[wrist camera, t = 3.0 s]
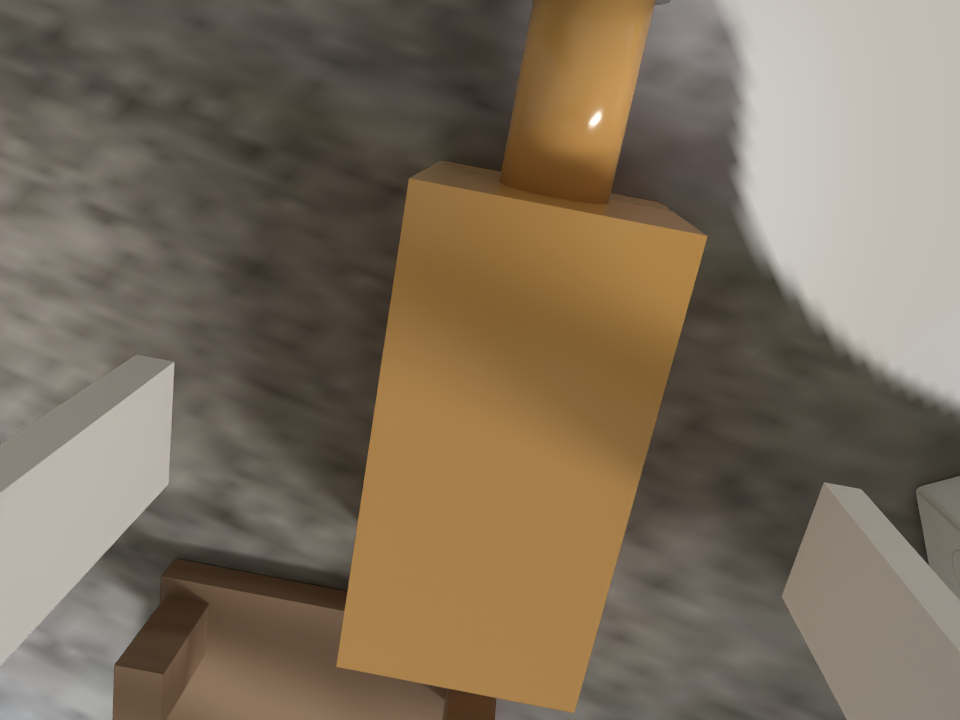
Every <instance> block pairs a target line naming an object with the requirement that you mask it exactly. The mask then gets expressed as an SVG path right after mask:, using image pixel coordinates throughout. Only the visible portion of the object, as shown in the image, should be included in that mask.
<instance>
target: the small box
mask: <svg viewBox="0 0 960 720" xmlns="http://www.w3.org/2000/svg"><path fill="white" fill-rule="evenodd" d="M916 496H917V502H918V507H919V512H920V518H921V524H922V529H923V535H924V540H925V546H926V551H927V557H928V562H929V566H930V568H931V569H932V570H933V571H934V572H935V573H936V574H937V575H938V577H939V578H940V579H941V580H942V581H943V582H944V583H945V585H946V586H947V587H948V588H949V589H950V590H951V591H952V592H953V594H954V595H955V596H956V597H957V598H958V599H959V600H960V476H957V477H954V478H950V479H946V480H942V481H938V482H934V483H931V484H927V485H924V486H920V487H918V488H917V489H916Z"/></svg>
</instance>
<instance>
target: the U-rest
mask: <svg viewBox="0 0 960 720" xmlns="http://www.w3.org/2000/svg"><path fill="white" fill-rule="evenodd" d="M346 598H347V591H342V590H337V589H332V588H327V587H321V586H316V585H311V584H306V583H300V582H295V581H290V580H285V579H280V578H274V577H269V576H264V575H259V574H254V573H248V572H243V571H238V570H233V569H228V568H222V567H217V566H212V565H207V564H202V563H196V562H191V561H186V560H181V559H176V558H175V559H174V561H173V562H172V563H171V564H170V566H169V567H168V568H167V569H166V571H165V572H164V573H163V574H162V576H161V589H160V605H159V606H158V607H157V609H156V610H155V611H154V613H153V614H152V615H151V617H150V618H149V619H148V621H147V622H146V623H145V625H144V626H143V627H142V629H141V630H140V631H139V633H138V634H137V635H136V637H135V638H134V639H133V641H132V642H131V643H130V645H129V646H128V647H127V649H126V650H125V651H124V653H123V654H122V655H121V657H120V658H119V659H118V661H117V662H116V663H115V665H114V691H113V720H495V708H496V698H494V697H489V696H484V695H479V694H474V693H469V692H463V691H458V690H453V689H448V688H443V687H438V686H433V685H428V684H422V683H417V682H412V681H407V680H402V679H397V678H392V677H387V676H381V675H376V674H371V673H366V672H361V671H356V670H351V669H345V668H340V667H336V665H337V659H338V652H339V645H340V638H341V632H342V625H343V618H344V612H345V605H346Z"/></svg>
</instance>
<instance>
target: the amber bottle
mask: <svg viewBox="0 0 960 720" xmlns="http://www.w3.org/2000/svg"><path fill="white" fill-rule="evenodd" d="M669 2H670V0H533V4H532V9H531V15H530V20H529V25H528V31H527V36H526V41H525V47H524V52H523V57H522V63H521V68H520V74H519V79H518V84H517V90H516V95H515V100H514V106H513V111H512V116H511V122H510V127H509V133H508V138H507V143H506V149H505V154H504V159H503V165H502V170H501V172H500V171H494V170H489V169H484V168H479V167H474V166H469V165H463V164H458V163H453V162H448V161H443V160H441V161H440V162H438V163H436V164H434V165H432V166H430V167H429V168H427V169H425V170H423V171H421V172H420V173H418V174H416V175H414V176H412V177H410V178H409V181H408V188H407V195H406V201H405V208H404V215H403V222H402V228H401V235H400V242H399V248H398V255H397V262H396V269H395V275H394V282H393V289H392V295H391V302H390V309H389V316H388V322H387V329H386V336H385V343H384V349H383V356H382V363H381V369H380V376H379V383H378V390H377V396H376V403H375V410H374V417H373V423H372V430H371V437H370V443H369V450H368V457H367V464H366V470H365V477H364V484H363V490H362V497H361V504H360V511H359V517H358V524H357V531H356V538H355V544H354V551H353V558H352V564H351V571H350V578H349V585H348V591H347V598H346V605H345V612H344V618H343V625H342V632H341V638H340V645H339V652H338V659H337V665H336V667H340V668H345V669H351V670H356V671H361V672H366V673H371V674H376V675H381V676H387V677H392V678H397V679H402V680H407V681H412V682H417V683H422V684H428V685H433V686H438V687H443V688H448V689H453V690H458V691H463V692H469V693H474V694H479V695H484V696H489V697H494V698H499V699H505V700H510V701H515V702H520V703H525V704H530V705H535V706H540V707H546V708H551V709H556V710H561V711H566V712H571V713H575V709H576V706H577V702H578V698H579V695H580V691H581V688H582V684H583V680H584V677H585V673H586V670H587V666H588V663H589V659H590V655H591V652H592V648H593V645H594V641H595V638H596V634H597V630H598V627H599V623H600V620H601V616H602V612H603V609H604V605H605V602H606V598H607V595H608V591H609V587H610V584H611V580H612V577H613V573H614V570H615V566H616V562H617V559H618V555H619V552H620V548H621V545H622V541H623V537H624V534H625V530H626V527H627V523H628V519H629V516H630V512H631V509H632V505H633V502H634V498H635V494H636V491H637V487H638V484H639V480H640V477H641V473H642V469H643V466H644V462H645V459H646V455H647V452H648V448H649V444H650V441H651V437H652V434H653V430H654V426H655V423H656V419H657V416H658V412H659V409H660V405H661V401H662V398H663V394H664V391H665V387H666V384H667V380H668V376H669V373H670V369H671V366H672V362H673V358H674V355H675V351H676V348H677V344H678V341H679V337H680V333H681V330H682V326H683V323H684V319H685V316H686V312H687V308H688V305H689V301H690V298H691V294H692V291H693V287H694V283H695V280H696V276H697V273H698V269H699V265H700V262H701V258H702V255H703V251H704V248H705V244H706V240H707V237H708V236H707V235H706V234H704V233H703V232H701V231H700V230H698V229H697V228H696V227H694V226H693V225H691V224H690V223H688V222H687V221H686V220H684V219H683V218H681V217H680V216H678V215H677V214H676V213H674V212H673V211H671V210H670V209H668V208H667V207H666V206H664V205H663V204H661V203H660V202H655V201H650V200H645V199H640V198H634V197H629V196H624V195H619V194H614V193H611V190H612V186H613V181H614V177H615V173H616V168H617V164H618V160H619V156H620V151H621V147H622V143H623V139H624V134H625V130H626V126H627V121H628V117H629V113H630V109H631V104H632V100H633V96H634V92H635V87H636V83H637V79H638V74H639V70H640V66H641V62H642V57H643V53H644V49H645V45H646V40H647V36H648V32H649V27H650V23H651V19H652V15H653V10H654V6H655V5H662V4H666V3H669Z"/></svg>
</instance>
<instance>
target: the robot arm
mask: <svg viewBox="0 0 960 720" xmlns="http://www.w3.org/2000/svg"><path fill="white" fill-rule="evenodd" d="M173 382H174V362H173V361H168V360H162V359H157V358H152V357H146V356H141V355H135V356H133V357H132V358H130V359H129V360H127V361H126V362H124V363H123V364H121V365H120V366H118V367H117V368H115V369H114V370H112V371H111V372H109V373H108V374H106V375H105V376H103V377H101V378H100V379H98V380H97V381H95V382H94V383H92V384H91V385H89V386H88V387H86V388H85V389H83V390H82V391H80V392H79V393H77V394H76V395H74V396H73V397H71V398H70V399H68V400H67V401H65V402H63V403H62V404H60V405H59V406H57V407H56V408H54V409H53V410H51V411H50V412H48V413H47V414H45V415H44V416H42V417H41V418H39V419H38V420H36V421H35V422H33V423H32V424H30V425H29V426H27V427H25V428H24V429H22V430H21V431H19V432H18V433H16V434H15V435H13V436H12V437H10V438H9V439H7V440H6V441H4V442H3V443H1V444H0V666H1V665H2V664H3V663H4V662H5V661H6V660H7V659H8V658H9V657H10V655H11V654H12V653H13V652H14V651H15V650H16V649H17V648H18V647H19V646H20V645H21V644H22V642H23V641H24V640H25V639H26V638H27V637H28V636H29V635H30V634H31V633H32V632H33V630H34V629H35V628H36V627H37V626H38V625H39V624H40V623H41V622H42V621H43V620H44V619H45V617H46V616H47V615H48V614H49V613H50V612H51V611H52V610H53V609H54V608H55V607H56V605H57V604H58V603H59V602H60V601H61V600H62V599H63V598H64V597H65V596H66V595H67V594H68V592H69V591H70V590H71V589H72V588H73V587H74V586H75V585H76V584H77V583H78V582H79V581H80V579H81V578H82V577H83V576H84V575H85V574H86V573H87V572H88V571H89V570H90V569H91V567H92V566H93V565H94V564H95V563H96V562H97V561H98V560H99V559H100V558H101V557H102V556H103V554H104V553H105V552H106V551H107V550H108V549H109V548H110V547H111V546H112V545H113V544H114V543H115V541H116V540H117V539H118V538H119V537H120V536H121V535H122V534H123V533H124V532H125V531H126V529H127V528H128V527H129V526H130V525H131V524H132V523H133V522H134V521H135V520H136V519H137V518H138V516H139V515H140V514H141V513H142V512H143V511H144V510H145V509H146V508H147V507H148V506H149V505H150V503H151V502H152V501H153V500H154V499H155V498H156V497H157V496H158V495H159V494H160V493H161V491H162V490H163V489H164V488H165V487H166V486H167V485H168V484H169V464H170V444H171V423H172V403H173ZM782 598H783V600H784V602H785V604H786V606H787V608H788V610H789V611H790V613H791V615H792V617H793V619H794V621H795V623H796V625H797V627H798V629H799V630H800V632H801V634H802V636H803V638H804V640H805V642H806V644H807V646H808V647H809V649H810V651H811V653H812V655H813V657H814V659H815V661H816V663H817V664H818V666H819V668H820V670H821V672H822V674H823V676H824V678H825V680H826V681H827V683H828V685H829V687H830V689H831V691H832V693H833V695H834V697H835V698H836V700H837V702H838V704H839V706H840V708H841V710H842V712H843V714H844V715H845V717H846V719H847V720H960V600H959V599H958V598H957V597H956V596H955V595H954V594H953V592H952V591H951V590H950V589H949V588H948V587H947V586H946V585H945V583H944V582H943V581H942V580H941V579H940V578H939V577H938V575H937V574H936V573H935V572H934V571H933V570H932V569H931V568H930V566H929V565H928V564H927V563H926V562H925V561H924V560H923V558H922V557H921V556H920V555H919V554H918V553H917V552H916V550H915V549H914V548H913V547H912V546H911V545H910V544H909V543H908V541H907V540H906V539H905V538H904V537H903V536H902V535H901V533H900V532H899V531H898V530H897V529H896V528H895V527H894V526H893V524H892V523H891V522H890V521H889V520H888V519H887V518H886V516H885V515H884V514H883V513H882V512H881V511H880V510H879V509H878V507H877V506H876V505H875V504H874V503H873V502H872V501H871V499H870V498H869V497H868V496H867V495H866V494H865V493H864V492H863V490H862V489H858V488H852V487H847V486H842V485H836V484H831V483H825V482H824V483H823V486H822V489H821V491H820V494H819V497H818V499H817V502H816V505H815V508H814V510H813V513H812V516H811V518H810V521H809V524H808V526H807V529H806V532H805V535H804V537H803V540H802V543H801V545H800V548H799V551H798V553H797V556H796V559H795V562H794V564H793V567H792V570H791V572H790V575H789V578H788V581H787V583H786V586H785V589H784V591H783V594H782Z"/></svg>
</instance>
